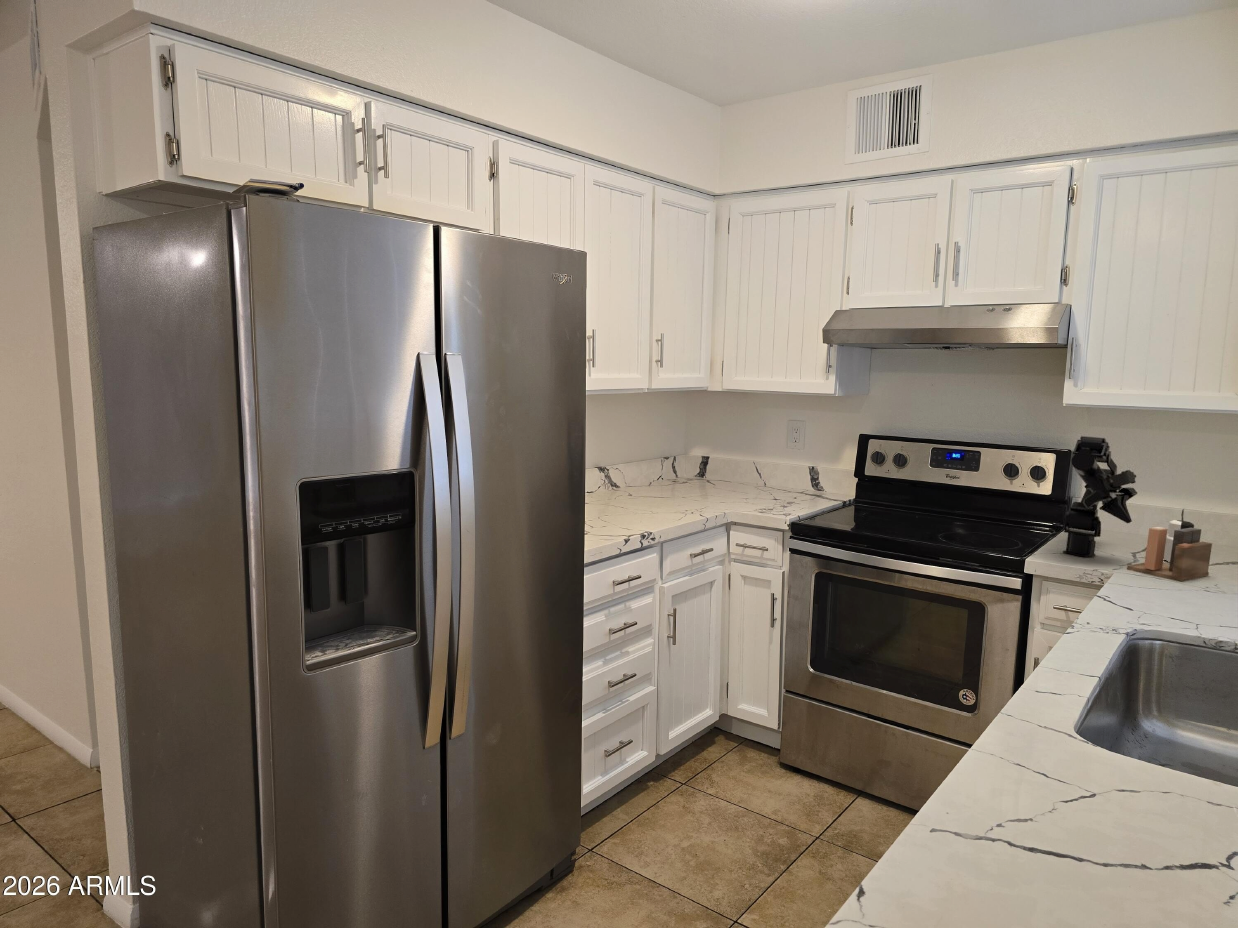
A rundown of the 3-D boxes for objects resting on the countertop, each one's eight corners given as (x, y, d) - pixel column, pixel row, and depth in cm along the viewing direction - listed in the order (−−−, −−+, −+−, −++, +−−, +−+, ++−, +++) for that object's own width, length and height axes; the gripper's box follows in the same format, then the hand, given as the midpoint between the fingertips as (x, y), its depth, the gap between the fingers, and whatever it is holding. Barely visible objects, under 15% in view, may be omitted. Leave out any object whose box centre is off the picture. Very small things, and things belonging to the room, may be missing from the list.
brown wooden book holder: (1126, 569, 223) (1132, 525, 222) (1154, 563, 232) (1160, 521, 230) (1181, 581, 212) (1187, 535, 210) (1208, 575, 220) (1214, 531, 219)
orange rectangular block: (1143, 567, 220) (1149, 527, 219) (1152, 566, 222) (1157, 526, 221) (1153, 570, 218) (1159, 529, 216) (1162, 568, 220) (1167, 527, 219)
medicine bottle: (1182, 559, 240) (1187, 519, 238) (1196, 565, 233) (1202, 524, 231) (1156, 557, 240) (1162, 518, 239) (1170, 563, 233) (1176, 522, 232)
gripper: (1099, 461, 222) (1137, 507, 214) (1134, 459, 232) (1171, 504, 224) (1067, 484, 230) (1103, 530, 222) (1102, 482, 240) (1137, 526, 232)
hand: (1129, 522), depth 225 cm, fingers closed
